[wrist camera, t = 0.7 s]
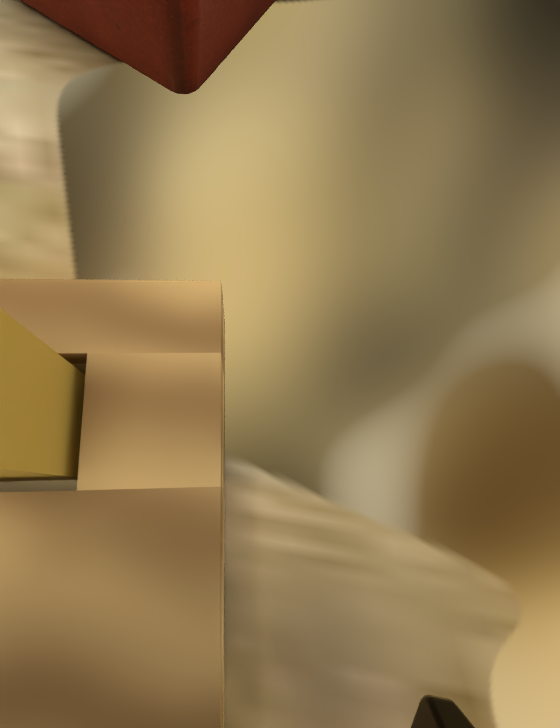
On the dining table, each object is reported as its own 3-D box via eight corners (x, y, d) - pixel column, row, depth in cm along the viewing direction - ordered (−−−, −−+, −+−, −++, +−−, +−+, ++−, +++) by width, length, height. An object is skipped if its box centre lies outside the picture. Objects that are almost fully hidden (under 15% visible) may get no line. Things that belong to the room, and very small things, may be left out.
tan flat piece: (223, 865, 19) (219, 991, 14) (-244, 908, 17) (-429, 1065, 13) (224, 323, 24) (221, 280, 20) (-129, 322, 23) (-226, 277, 18)
